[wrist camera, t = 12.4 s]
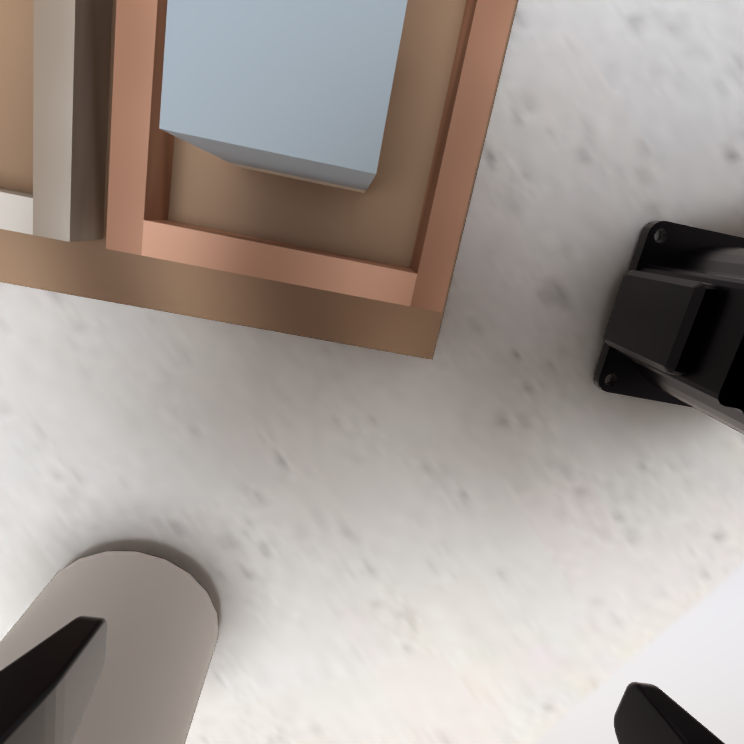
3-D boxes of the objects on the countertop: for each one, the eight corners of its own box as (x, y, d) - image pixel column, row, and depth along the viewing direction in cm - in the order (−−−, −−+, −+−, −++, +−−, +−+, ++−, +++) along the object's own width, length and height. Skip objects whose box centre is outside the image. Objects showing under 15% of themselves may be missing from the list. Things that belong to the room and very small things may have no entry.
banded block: (389, 54, 15) (421, -80, 8) (364, 193, 16) (376, 174, 9) (255, 23, 15) (176, -144, 8) (239, 167, 16) (159, 128, 9)
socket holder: (527, -84, 15) (576, -168, 12) (426, 349, 19) (442, 376, 16) (-261, -301, 13) (-468, -478, 10) (-196, 236, 17) (-328, 240, 14)
